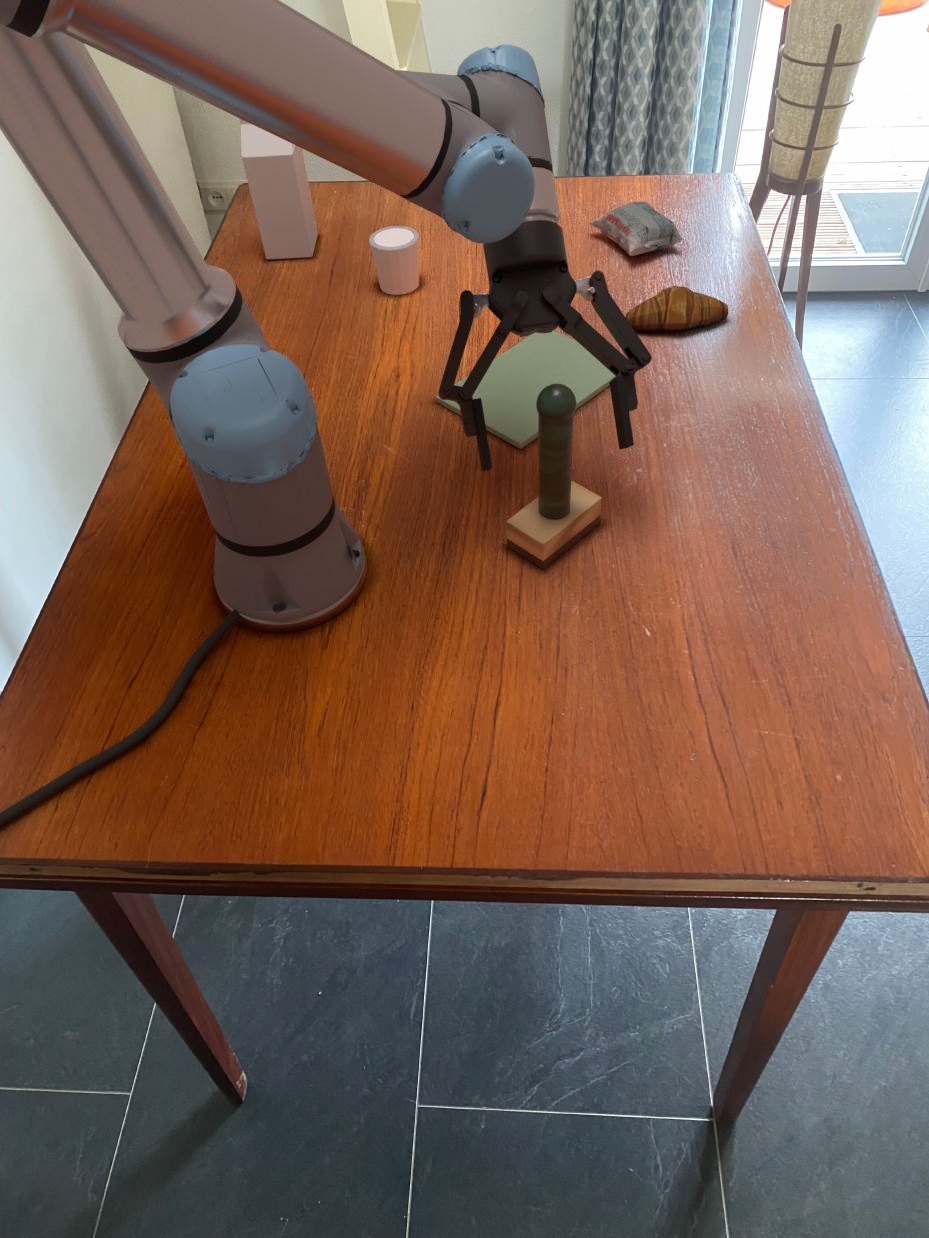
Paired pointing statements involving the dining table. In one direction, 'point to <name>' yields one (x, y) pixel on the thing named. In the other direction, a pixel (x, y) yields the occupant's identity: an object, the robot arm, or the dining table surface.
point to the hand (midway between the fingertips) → (557, 459)
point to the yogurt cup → (396, 258)
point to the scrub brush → (554, 487)
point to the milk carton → (279, 193)
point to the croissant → (676, 311)
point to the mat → (533, 383)
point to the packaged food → (638, 228)
